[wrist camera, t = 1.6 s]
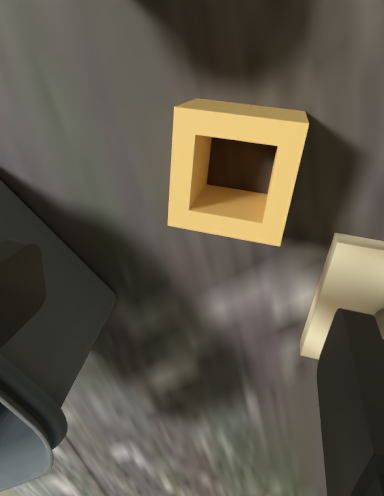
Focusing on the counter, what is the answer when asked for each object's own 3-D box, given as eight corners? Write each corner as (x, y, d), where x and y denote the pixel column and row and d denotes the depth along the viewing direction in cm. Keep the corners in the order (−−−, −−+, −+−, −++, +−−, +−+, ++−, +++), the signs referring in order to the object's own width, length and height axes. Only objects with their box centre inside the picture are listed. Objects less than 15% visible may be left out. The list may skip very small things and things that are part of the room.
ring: (197, 98, 22) (174, 106, 17) (305, 111, 21) (309, 123, 16) (188, 197, 25) (167, 225, 21) (281, 213, 24) (279, 246, 19)
